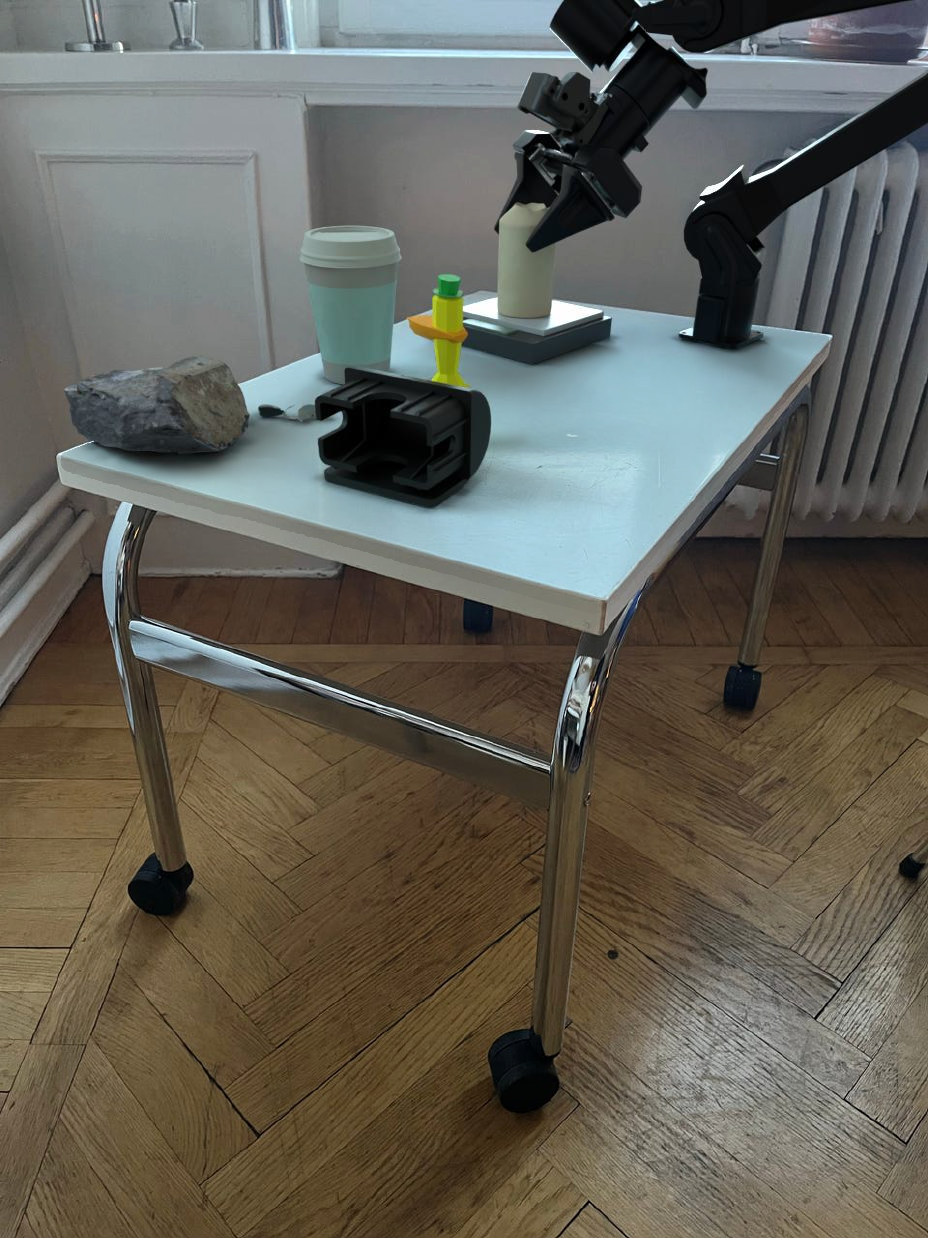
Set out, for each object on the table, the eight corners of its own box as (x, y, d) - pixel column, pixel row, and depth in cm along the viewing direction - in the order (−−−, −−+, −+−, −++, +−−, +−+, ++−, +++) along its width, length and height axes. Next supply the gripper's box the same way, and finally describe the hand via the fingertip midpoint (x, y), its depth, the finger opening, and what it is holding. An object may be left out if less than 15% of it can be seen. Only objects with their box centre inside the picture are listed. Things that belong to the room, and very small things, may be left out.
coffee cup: (420, 368, 84) (418, 229, 78) (375, 396, 78) (369, 246, 71) (340, 356, 87) (332, 221, 81) (290, 382, 80) (277, 236, 74)
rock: (266, 422, 73) (261, 354, 70) (216, 473, 63) (207, 396, 60) (93, 410, 74) (81, 343, 71) (18, 459, 64) (1, 383, 61)
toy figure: (395, 431, 71) (390, 269, 64) (430, 421, 73) (428, 262, 66) (453, 457, 66) (454, 286, 60) (488, 445, 69) (493, 278, 62)
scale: (512, 314, 101) (513, 290, 100) (610, 337, 94) (612, 311, 92) (431, 338, 93) (431, 311, 91) (532, 364, 86) (533, 336, 84)
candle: (522, 321, 89) (527, 210, 83) (485, 310, 92) (487, 202, 87) (563, 312, 92) (570, 204, 86) (525, 302, 95) (529, 197, 90)
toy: (224, 428, 72) (227, 417, 73) (326, 422, 72) (327, 411, 74) (221, 413, 71) (224, 403, 73) (323, 407, 71) (325, 396, 73)
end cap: (491, 473, 64) (494, 378, 60) (439, 511, 59) (439, 410, 55) (373, 445, 68) (369, 355, 65) (315, 479, 63) (307, 382, 59)
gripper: (536, 34, 88) (427, 165, 91) (624, 35, 73) (490, 190, 76) (603, 126, 94) (499, 245, 97) (696, 144, 79) (570, 283, 82)
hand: (512, 240), depth 88 cm, fingers open, 8 cm apart
